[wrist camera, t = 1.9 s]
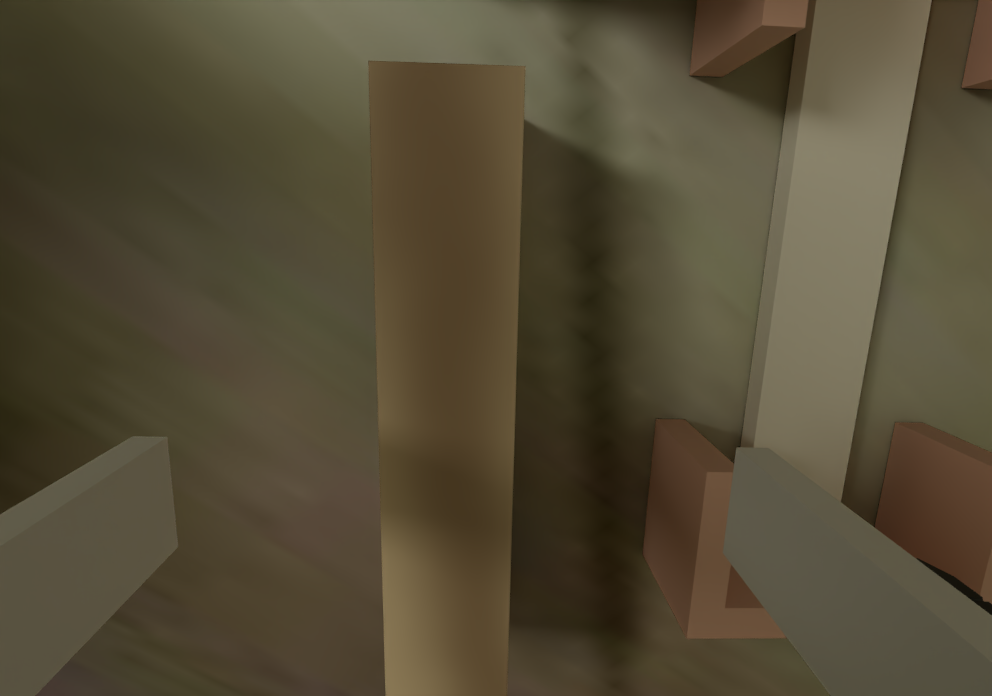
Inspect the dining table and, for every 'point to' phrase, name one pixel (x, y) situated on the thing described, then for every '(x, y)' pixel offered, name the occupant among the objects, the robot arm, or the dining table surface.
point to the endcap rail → (820, 309)
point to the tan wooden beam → (446, 366)
